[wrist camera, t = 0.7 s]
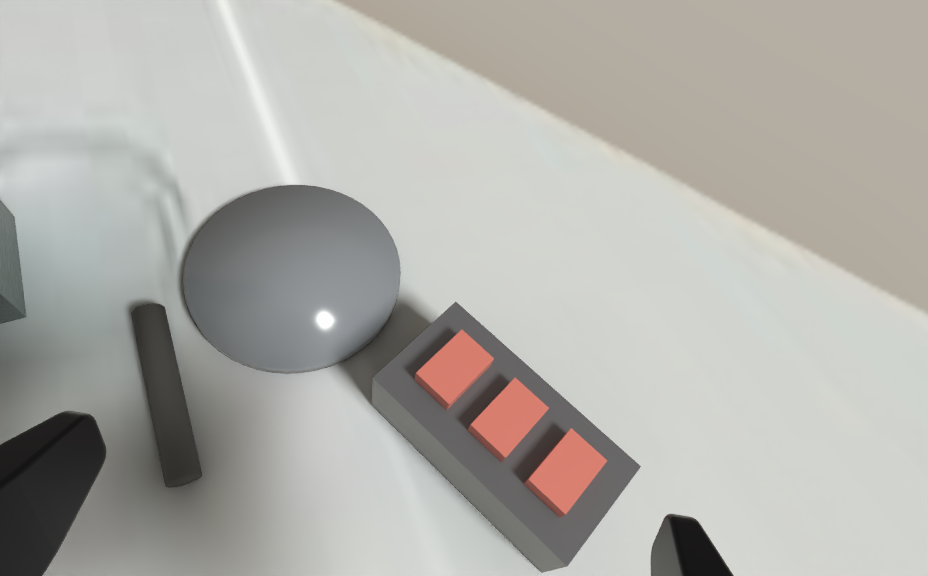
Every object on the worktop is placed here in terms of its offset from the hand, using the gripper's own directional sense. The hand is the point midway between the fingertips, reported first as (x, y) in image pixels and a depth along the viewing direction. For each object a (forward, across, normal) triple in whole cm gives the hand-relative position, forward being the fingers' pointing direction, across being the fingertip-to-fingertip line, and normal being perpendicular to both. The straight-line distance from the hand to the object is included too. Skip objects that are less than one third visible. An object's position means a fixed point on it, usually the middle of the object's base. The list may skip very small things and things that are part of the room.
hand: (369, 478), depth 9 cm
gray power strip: (+11, -2, +11) cm, 16 cm away
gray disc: (+15, +8, +7) cm, 19 cm away
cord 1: (+9, +11, +10) cm, 17 cm away
